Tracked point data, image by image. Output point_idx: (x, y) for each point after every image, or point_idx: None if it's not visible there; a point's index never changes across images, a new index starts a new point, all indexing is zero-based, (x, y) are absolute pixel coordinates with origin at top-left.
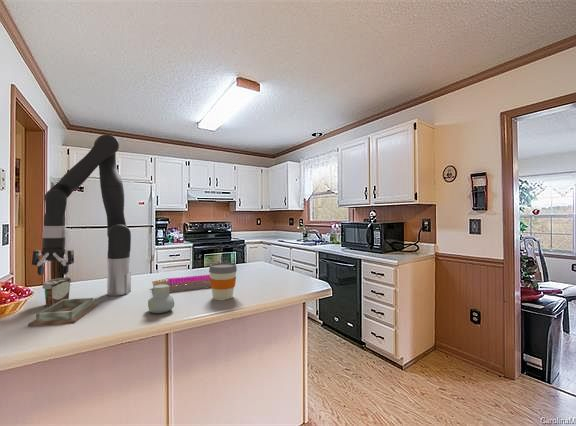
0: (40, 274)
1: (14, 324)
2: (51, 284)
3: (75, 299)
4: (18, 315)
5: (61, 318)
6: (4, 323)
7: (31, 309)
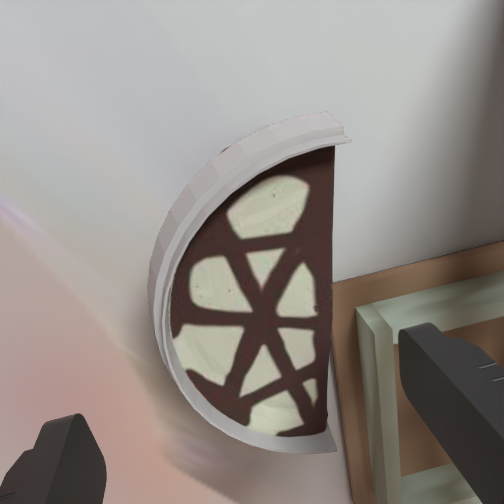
0: (103, 485)
1: (280, 497)
2: (333, 444)
3: (462, 326)
4: (188, 420)
5: None
6: (224, 496)
7: None
